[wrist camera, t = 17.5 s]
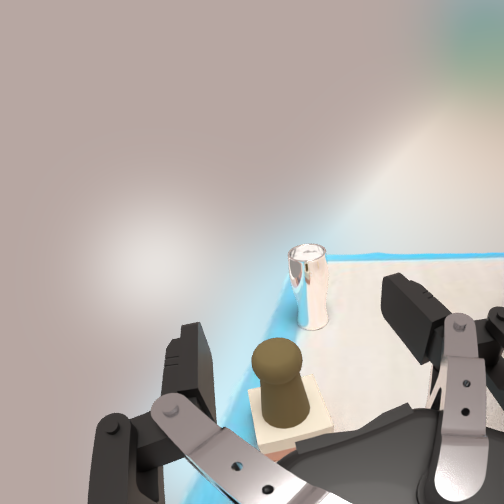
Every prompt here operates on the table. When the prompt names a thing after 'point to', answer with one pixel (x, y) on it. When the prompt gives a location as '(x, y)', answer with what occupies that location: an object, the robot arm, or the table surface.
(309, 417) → the brick base
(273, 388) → the cork
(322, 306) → the beer glass
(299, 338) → the table surface
